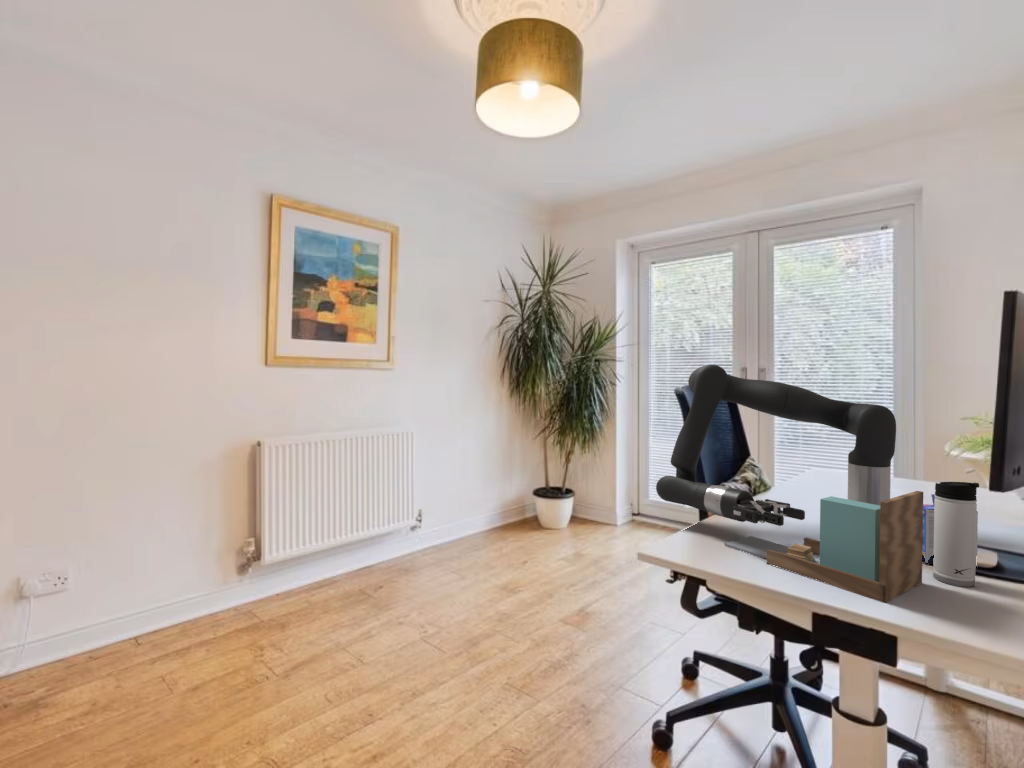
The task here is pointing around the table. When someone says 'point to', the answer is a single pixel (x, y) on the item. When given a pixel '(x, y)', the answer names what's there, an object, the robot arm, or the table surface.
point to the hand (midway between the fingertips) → (793, 518)
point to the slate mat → (756, 546)
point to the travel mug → (955, 533)
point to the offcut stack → (800, 552)
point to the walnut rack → (896, 553)
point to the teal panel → (850, 536)
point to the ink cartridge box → (929, 530)
